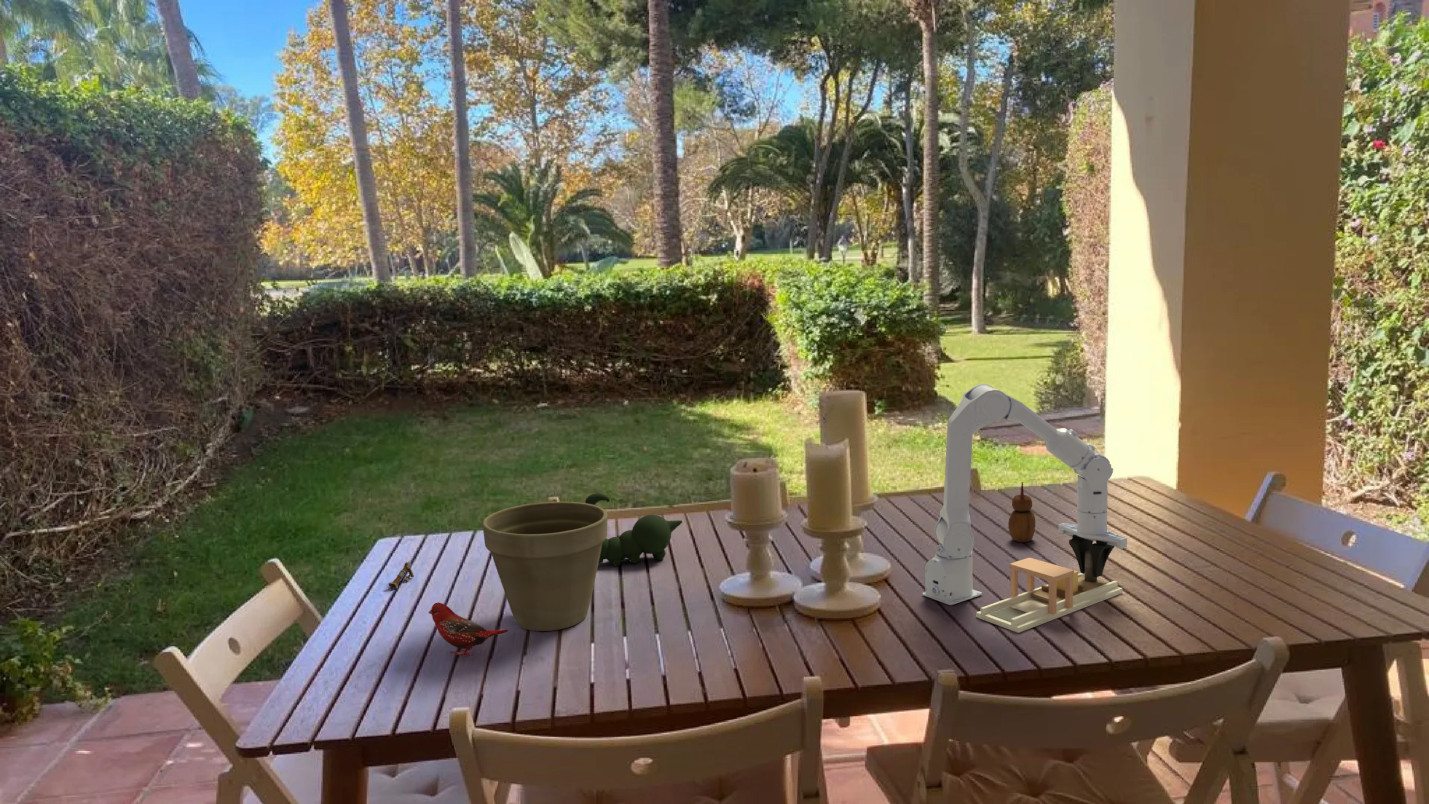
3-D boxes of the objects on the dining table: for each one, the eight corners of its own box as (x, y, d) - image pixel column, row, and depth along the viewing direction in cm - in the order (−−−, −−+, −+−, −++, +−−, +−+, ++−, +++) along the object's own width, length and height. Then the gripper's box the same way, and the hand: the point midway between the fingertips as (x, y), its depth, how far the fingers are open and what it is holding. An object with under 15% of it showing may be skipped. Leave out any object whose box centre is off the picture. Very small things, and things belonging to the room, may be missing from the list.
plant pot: (638, 608, 193) (632, 507, 190) (555, 652, 173) (546, 540, 170) (551, 589, 207) (544, 495, 204) (465, 628, 187) (455, 524, 184)
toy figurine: (585, 579, 218) (689, 559, 222) (572, 502, 215) (678, 483, 219) (584, 567, 227) (684, 548, 231) (572, 492, 224) (673, 474, 228)
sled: (1056, 605, 180) (1056, 571, 179) (1031, 597, 185) (1031, 564, 184) (1107, 586, 189) (1108, 554, 188) (1082, 578, 194) (1083, 547, 193)
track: (1019, 633, 171) (1019, 589, 170) (975, 616, 180) (975, 574, 179) (1123, 593, 188) (1123, 553, 187) (1078, 580, 197) (1078, 541, 196)
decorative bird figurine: (436, 648, 177) (432, 598, 176) (515, 659, 171) (511, 607, 169) (427, 655, 175) (422, 604, 173) (506, 665, 168) (502, 613, 167)
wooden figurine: (1029, 545, 222) (1029, 484, 219) (1005, 542, 225) (1005, 482, 223) (1038, 538, 227) (1038, 478, 225) (1015, 535, 230) (1015, 476, 228)
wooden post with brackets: (418, 573, 221) (412, 559, 218) (401, 597, 214) (394, 583, 212) (411, 573, 221) (405, 559, 219) (394, 597, 215) (387, 582, 212)
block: (1065, 595, 183) (1065, 576, 183) (1048, 590, 187) (1048, 571, 186) (1077, 590, 185) (1078, 571, 185) (1060, 585, 189) (1060, 566, 188)
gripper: (1136, 513, 185) (1135, 578, 187) (1073, 499, 197) (1072, 561, 199) (1115, 520, 181) (1114, 586, 183) (1052, 505, 193) (1051, 568, 195)
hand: (1091, 574), depth 191 cm, fingers closed on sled, 2 cm apart
